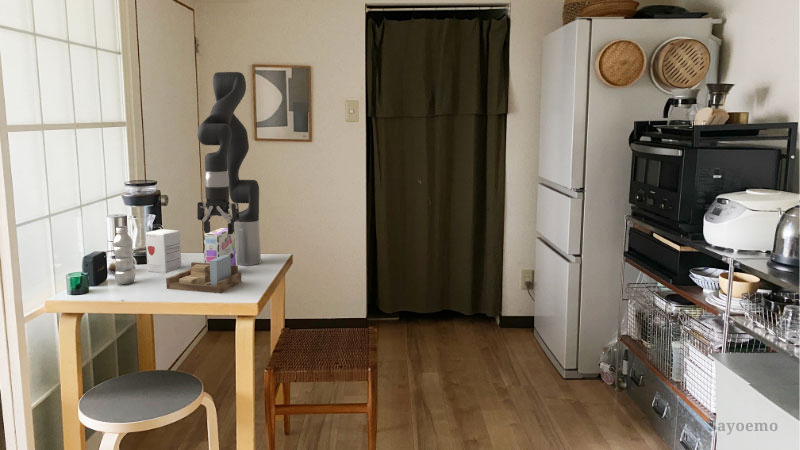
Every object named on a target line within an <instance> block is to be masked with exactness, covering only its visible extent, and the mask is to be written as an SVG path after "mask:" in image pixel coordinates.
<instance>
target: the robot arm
mask: <svg viewBox="0 0 800 450" xmlns="http://www.w3.org/2000/svg"><path fill="white" fill-rule="evenodd" d="M212 86H213V88H212V89H213V93H214V97H215V98H214V99H215V101H216V102H215V103H214V105H213V106H212V107H211V110H210V113H209V115H208V116H207V117H206V119H204V121H202V123H200V125H199V127H198V128H197V129H198V130H197V140H198V141H199V142H200V144H202V145H203V146H219V149H217V151H213V152H209V153H206V154H205V155H204V168H205V169H204V187H205V188H204V189H205V190H204V192H205V193H204V194H205V199H206V201H199V202H197V206H196V207H197V208H196V209H197V211H196V212H197V213H196V214H197V217H196V218H197V220H198V221H202V222H203V231H204V234H206V233H210V232H211V221H210V219H211V218H212V217H214V216H219V217H222V218H223V219H225V220H226V222H227V228H228V234H230V235H231V234H233V232H235V255H236V265H238V266H254V265H258V264H260V263H261V259H262V258H261V238H260V186H259V182H258V181H257V180H255V179H240V176H239V174H240V172H239V171H240V168H241V166H242V165H243V162H244V160H245V159H246V157H247V154H248V152H249V149H250V145H249V137H248V132H247V131H248V130H247V128H246V127H245V125H244V124H243V122H242V121H240V119H239V118H238V116H237V115H235V113H234V112H235V110H236V109H237V108H238V106H239V104H241V101H242V100H243V98H244V97H245V95H246V91H247V82H246V78H245V75H244V73H242V72H240V71H219V72H215V73H214V74H213V77H212ZM230 200H231V201H232V203H230ZM239 204H248V207H247V208H246V209H244V210H242V211H241V210H239ZM205 209H207V211H206V212H205ZM229 209H230V210H231V211H230V210H229Z"/></svg>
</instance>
